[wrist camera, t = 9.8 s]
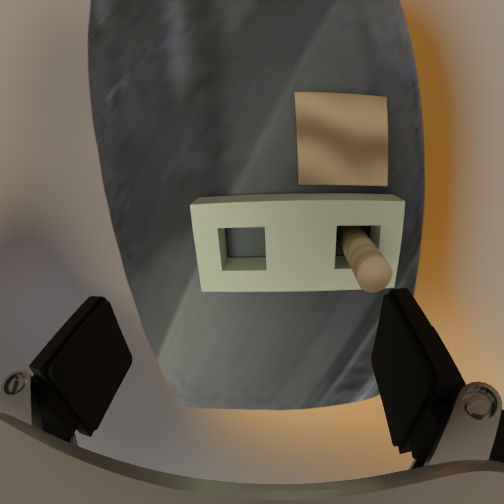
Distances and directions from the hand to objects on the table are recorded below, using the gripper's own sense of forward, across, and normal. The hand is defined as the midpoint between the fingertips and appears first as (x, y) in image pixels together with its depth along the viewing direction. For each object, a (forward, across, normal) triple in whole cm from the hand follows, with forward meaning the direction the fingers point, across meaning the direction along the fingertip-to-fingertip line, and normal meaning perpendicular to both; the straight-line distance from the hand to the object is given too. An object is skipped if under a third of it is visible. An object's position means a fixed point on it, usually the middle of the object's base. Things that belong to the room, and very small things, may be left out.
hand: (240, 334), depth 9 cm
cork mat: (+24, -8, -5) cm, 26 cm away
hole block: (+24, -3, +6) cm, 24 cm away
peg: (+24, -9, +6) cm, 26 cm away
